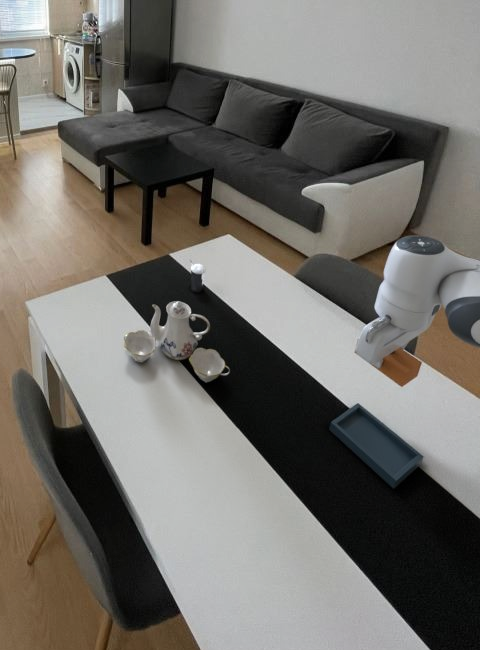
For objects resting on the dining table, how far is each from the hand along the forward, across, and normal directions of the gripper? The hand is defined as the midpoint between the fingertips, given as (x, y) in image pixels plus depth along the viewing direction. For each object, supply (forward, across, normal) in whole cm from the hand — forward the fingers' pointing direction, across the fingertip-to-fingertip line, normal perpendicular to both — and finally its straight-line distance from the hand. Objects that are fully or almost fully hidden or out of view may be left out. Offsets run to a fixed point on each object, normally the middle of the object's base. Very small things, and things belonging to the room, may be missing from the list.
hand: (386, 358), depth 92 cm
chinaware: (+17, -30, +34) cm, 49 cm away
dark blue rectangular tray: (+17, -7, -5) cm, 19 cm away
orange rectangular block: (+2, 0, 0) cm, 2 cm away
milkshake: (+17, -7, +53) cm, 56 cm away
